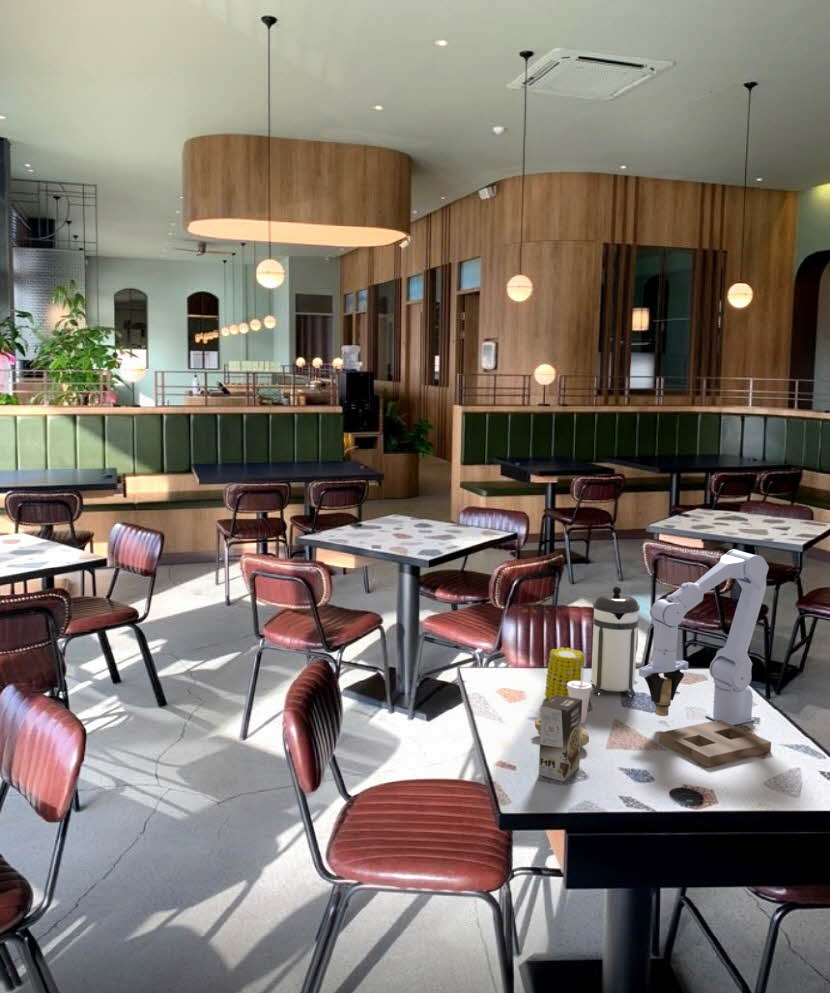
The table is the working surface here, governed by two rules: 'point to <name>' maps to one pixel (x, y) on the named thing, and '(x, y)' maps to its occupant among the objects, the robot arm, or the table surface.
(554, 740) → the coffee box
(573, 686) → the smoothie
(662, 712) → the oak peg
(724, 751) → the walnut board
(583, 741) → the oil lamp
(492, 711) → the table surface
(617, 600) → the coffee press
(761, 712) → the table surface
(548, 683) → the food
